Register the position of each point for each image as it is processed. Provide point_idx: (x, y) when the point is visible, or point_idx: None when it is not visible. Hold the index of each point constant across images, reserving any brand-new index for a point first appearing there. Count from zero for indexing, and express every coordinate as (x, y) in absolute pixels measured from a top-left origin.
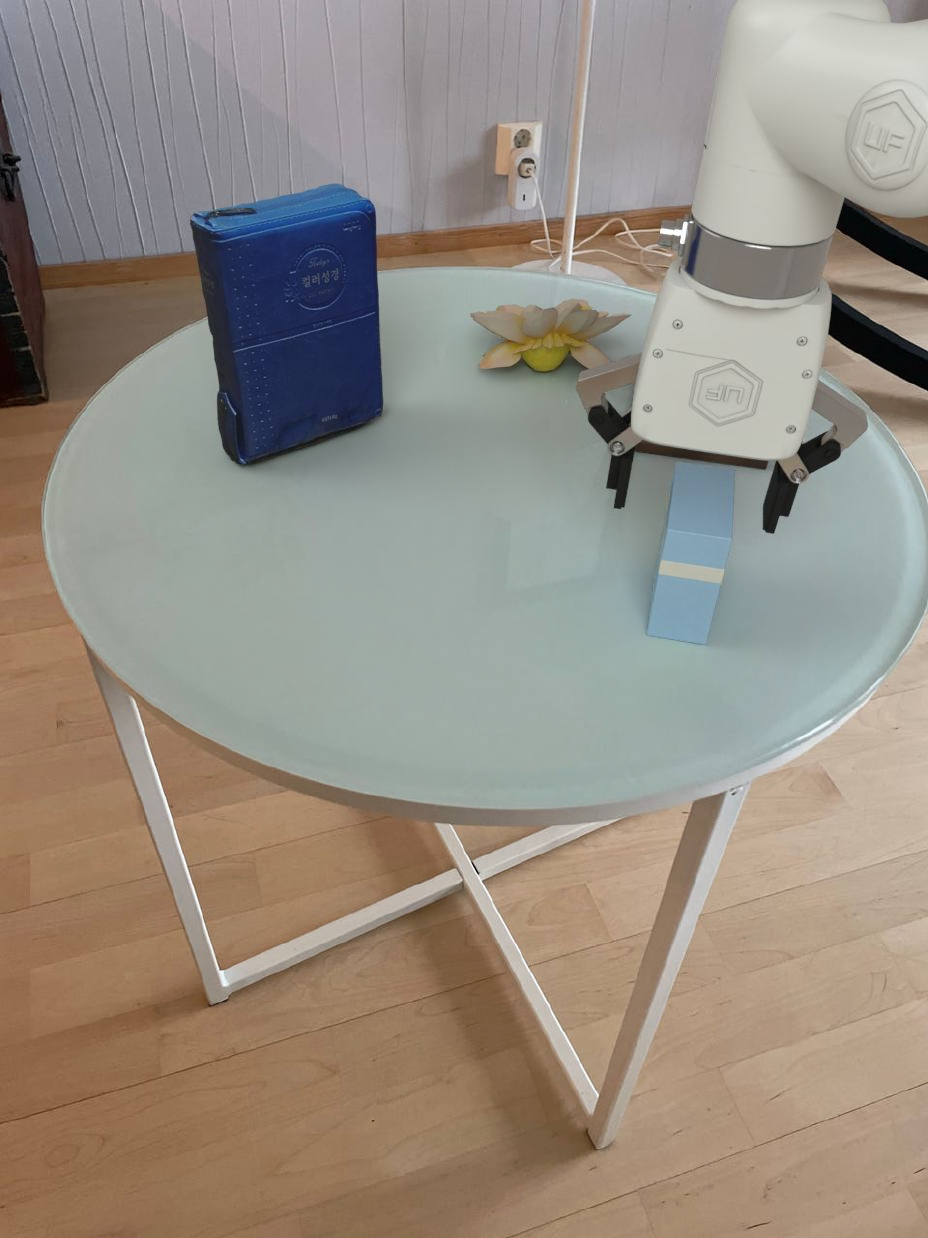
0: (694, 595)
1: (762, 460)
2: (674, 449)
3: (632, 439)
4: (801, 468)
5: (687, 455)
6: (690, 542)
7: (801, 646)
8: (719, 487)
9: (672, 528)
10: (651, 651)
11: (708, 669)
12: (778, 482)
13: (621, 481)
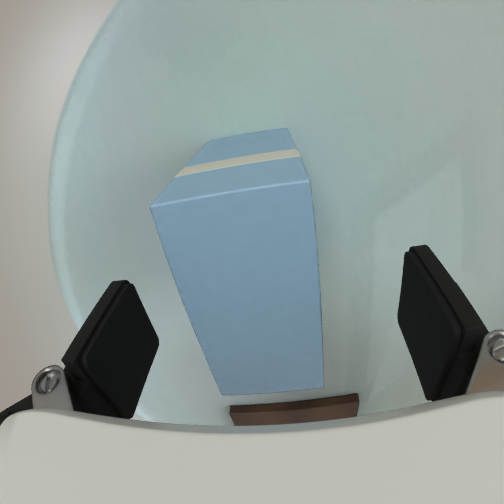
0: (228, 152)
1: (234, 412)
2: (313, 405)
3: (489, 383)
4: (39, 394)
5: (300, 403)
6: (245, 179)
7: (112, 190)
8: (231, 354)
9: (298, 189)
10: (273, 101)
11: (195, 100)
12: (84, 365)
13: (448, 284)
